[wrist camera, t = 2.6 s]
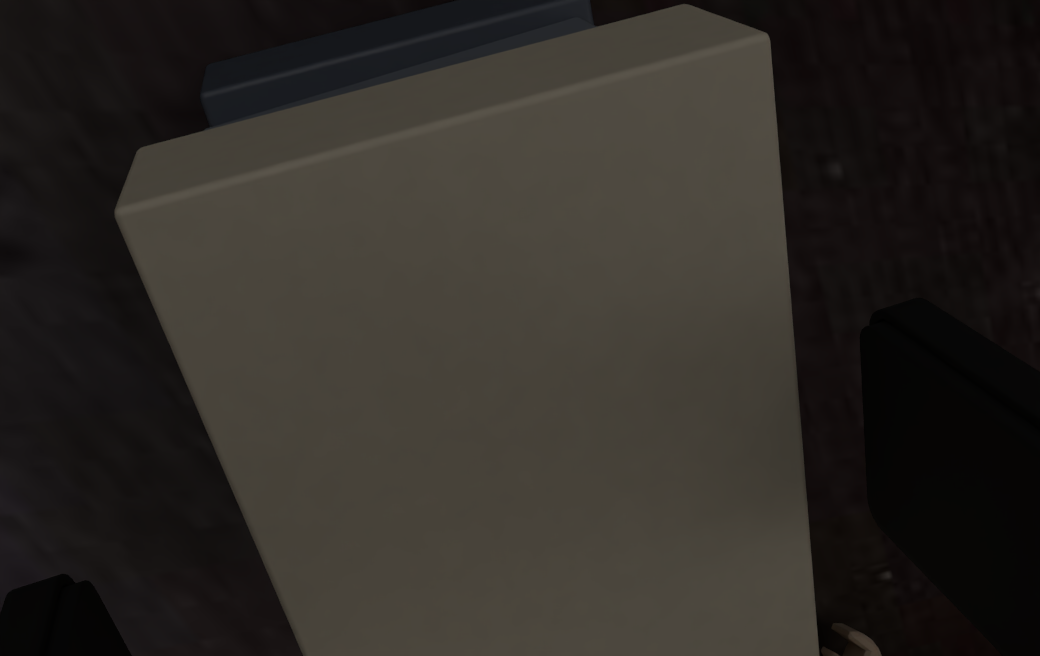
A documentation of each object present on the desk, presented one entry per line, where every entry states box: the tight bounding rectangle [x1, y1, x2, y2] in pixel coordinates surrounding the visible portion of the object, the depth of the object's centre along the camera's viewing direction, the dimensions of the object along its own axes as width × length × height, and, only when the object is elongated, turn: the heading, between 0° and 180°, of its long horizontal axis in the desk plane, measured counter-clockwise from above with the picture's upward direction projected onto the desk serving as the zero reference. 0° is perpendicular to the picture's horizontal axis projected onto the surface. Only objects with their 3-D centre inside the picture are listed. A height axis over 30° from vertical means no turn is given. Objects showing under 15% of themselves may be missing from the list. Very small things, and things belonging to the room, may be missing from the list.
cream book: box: [115, 4, 819, 656], centre depth 13 cm, size 10×7×2 cm
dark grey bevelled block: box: [200, 0, 596, 131], centre depth 15 cm, size 10×6×4 cm, turn 12°
